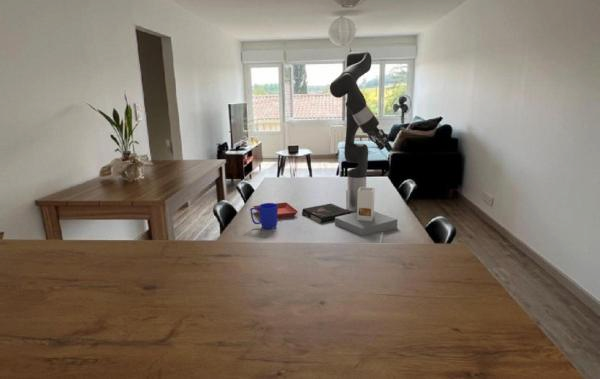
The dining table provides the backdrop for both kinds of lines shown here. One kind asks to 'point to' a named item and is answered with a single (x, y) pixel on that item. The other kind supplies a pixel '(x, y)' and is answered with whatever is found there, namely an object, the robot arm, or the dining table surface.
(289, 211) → the plant saucer
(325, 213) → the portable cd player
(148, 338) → the dining table surface
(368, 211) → the block
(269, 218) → the mug
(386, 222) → the dock
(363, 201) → the white hollow square box
